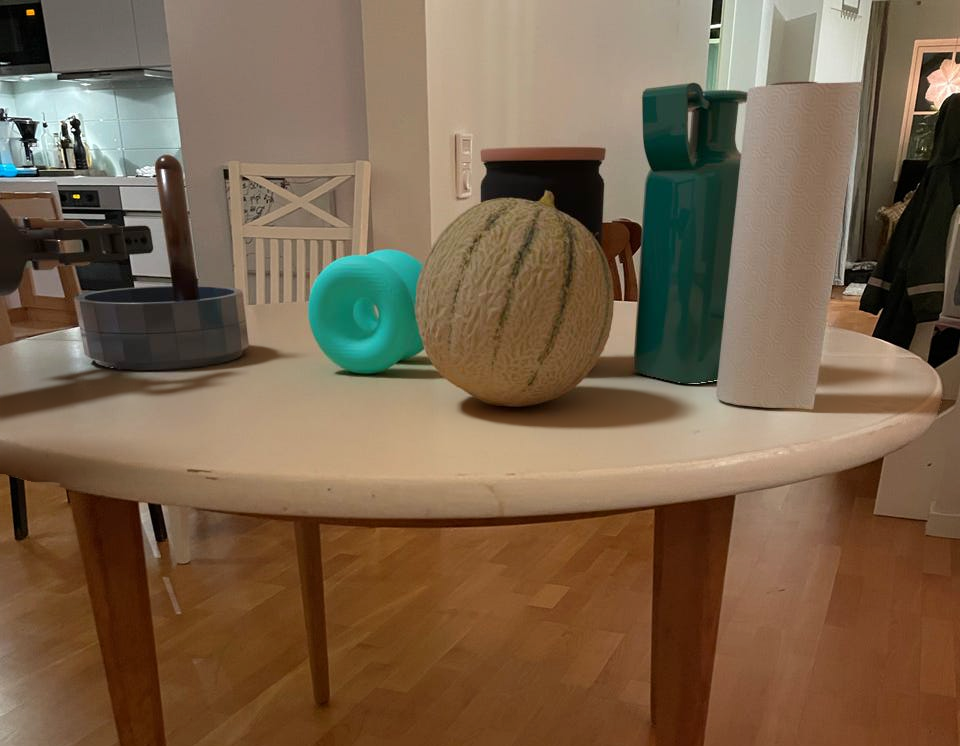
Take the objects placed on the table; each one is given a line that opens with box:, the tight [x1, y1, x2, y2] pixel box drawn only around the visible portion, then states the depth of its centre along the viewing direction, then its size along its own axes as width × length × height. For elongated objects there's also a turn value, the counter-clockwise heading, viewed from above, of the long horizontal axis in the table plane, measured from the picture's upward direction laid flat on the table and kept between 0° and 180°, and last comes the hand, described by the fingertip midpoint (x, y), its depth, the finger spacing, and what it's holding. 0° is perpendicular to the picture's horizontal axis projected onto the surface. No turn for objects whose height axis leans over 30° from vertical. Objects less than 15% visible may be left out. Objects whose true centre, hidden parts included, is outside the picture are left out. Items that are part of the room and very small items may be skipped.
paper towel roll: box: [715, 81, 864, 410], centre depth 67 cm, size 7×6×21 cm
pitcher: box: [632, 82, 748, 383], centre depth 77 cm, size 10×8×22 cm
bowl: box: [73, 285, 250, 371], centre depth 91 cm, size 16×16×6 cm
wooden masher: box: [154, 154, 200, 301], centre depth 88 cm, size 6×6×17 cm
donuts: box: [307, 249, 425, 375], centre depth 84 cm, size 10×10×10 cm
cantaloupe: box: [415, 190, 615, 408], centre depth 68 cm, size 15×15×15 cm
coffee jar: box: [480, 146, 607, 248], centre depth 82 cm, size 11×11×18 cm
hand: (117, 237), depth 82 cm, fingers open, 8 cm apart
